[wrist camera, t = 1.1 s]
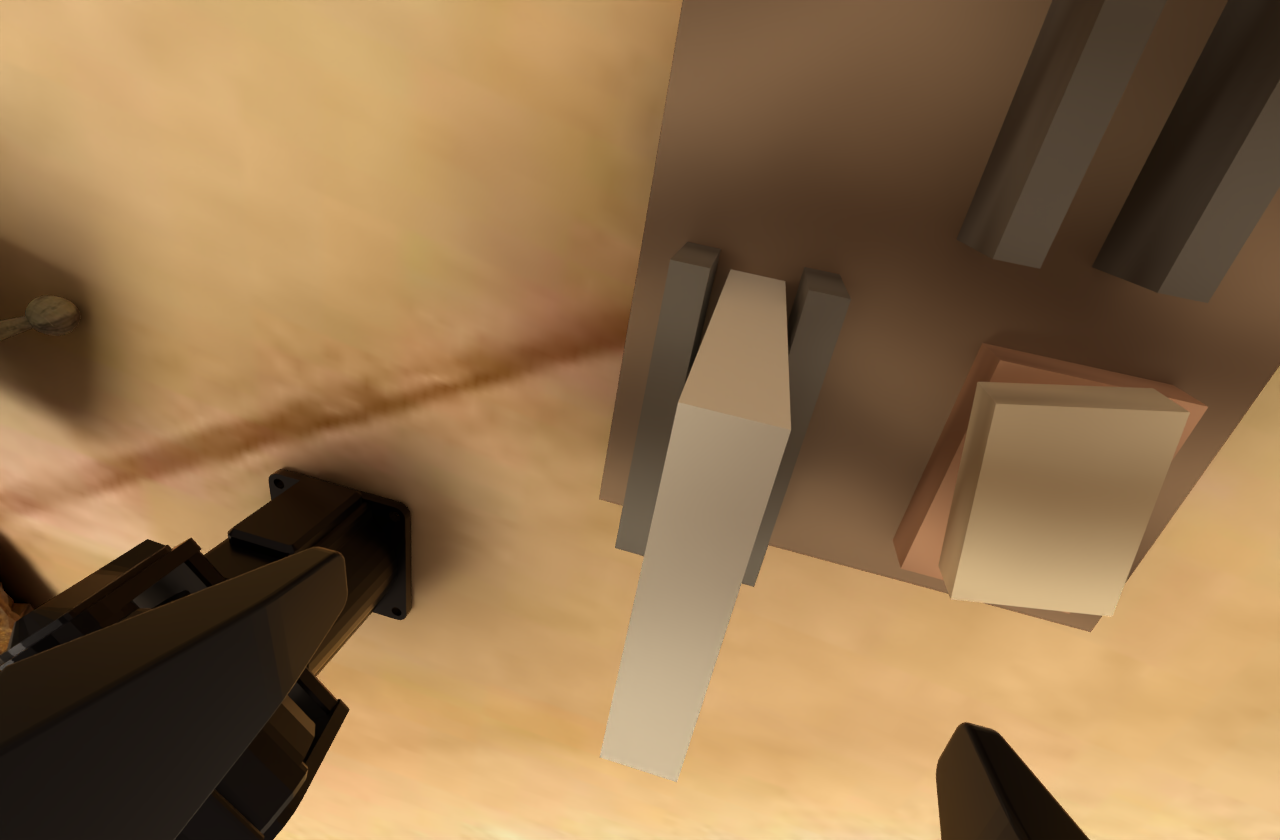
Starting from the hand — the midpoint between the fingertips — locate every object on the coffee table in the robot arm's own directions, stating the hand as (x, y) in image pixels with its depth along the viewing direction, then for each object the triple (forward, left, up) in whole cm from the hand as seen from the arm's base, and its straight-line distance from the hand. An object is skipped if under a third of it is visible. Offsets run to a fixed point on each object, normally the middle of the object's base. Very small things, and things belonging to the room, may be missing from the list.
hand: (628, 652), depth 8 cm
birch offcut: (0, -9, -10) cm, 14 cm away
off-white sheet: (-1, -1, -12) cm, 12 cm away
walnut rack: (+4, -6, -13) cm, 15 cm away
